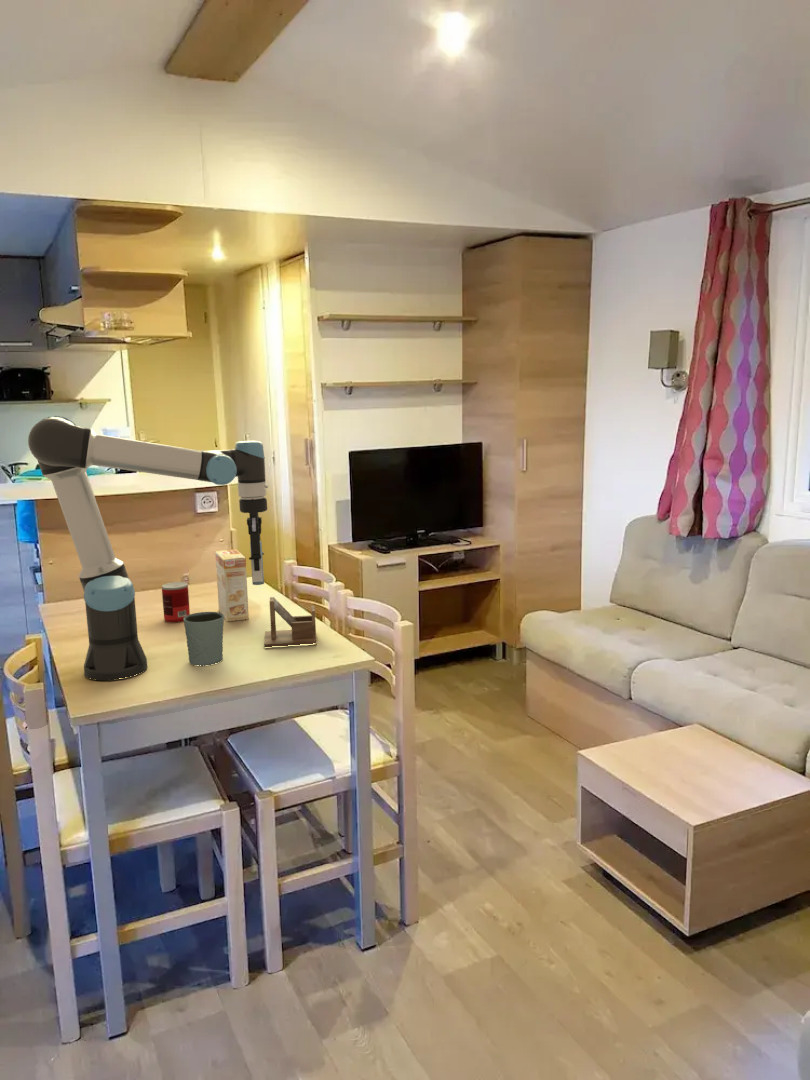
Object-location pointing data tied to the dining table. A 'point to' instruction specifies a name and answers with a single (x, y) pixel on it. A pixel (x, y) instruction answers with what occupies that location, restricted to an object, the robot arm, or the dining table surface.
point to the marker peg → (262, 566)
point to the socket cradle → (300, 625)
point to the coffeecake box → (232, 585)
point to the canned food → (175, 601)
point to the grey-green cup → (204, 637)
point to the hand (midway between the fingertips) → (258, 579)
